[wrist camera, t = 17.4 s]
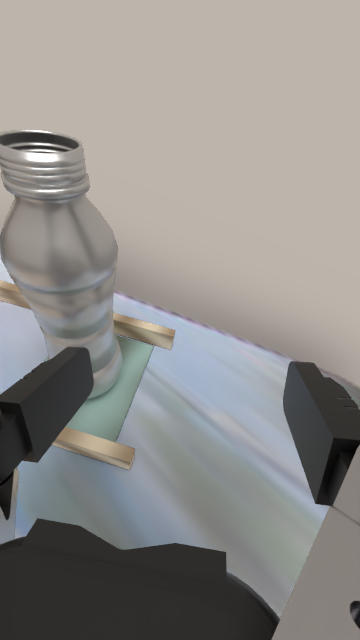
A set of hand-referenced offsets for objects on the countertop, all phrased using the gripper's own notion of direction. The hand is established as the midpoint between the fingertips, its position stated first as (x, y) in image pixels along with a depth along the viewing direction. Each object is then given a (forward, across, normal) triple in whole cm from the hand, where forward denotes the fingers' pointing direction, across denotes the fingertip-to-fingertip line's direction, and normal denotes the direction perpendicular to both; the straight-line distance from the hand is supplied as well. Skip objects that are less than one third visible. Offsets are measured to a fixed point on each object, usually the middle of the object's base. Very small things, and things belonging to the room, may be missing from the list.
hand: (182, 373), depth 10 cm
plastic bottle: (+12, +11, +9) cm, 18 cm away
